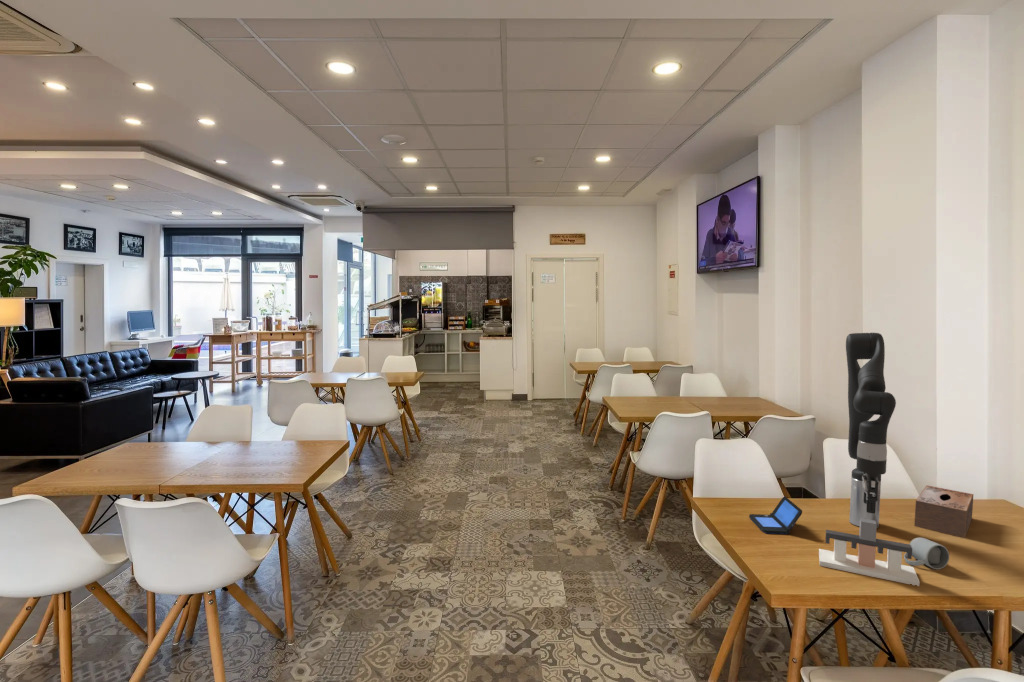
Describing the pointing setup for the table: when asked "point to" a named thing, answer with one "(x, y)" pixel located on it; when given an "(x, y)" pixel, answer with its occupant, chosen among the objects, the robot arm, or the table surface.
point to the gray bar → (869, 538)
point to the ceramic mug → (928, 553)
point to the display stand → (868, 563)
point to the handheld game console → (778, 518)
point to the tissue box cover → (944, 511)
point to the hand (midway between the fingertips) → (869, 508)
